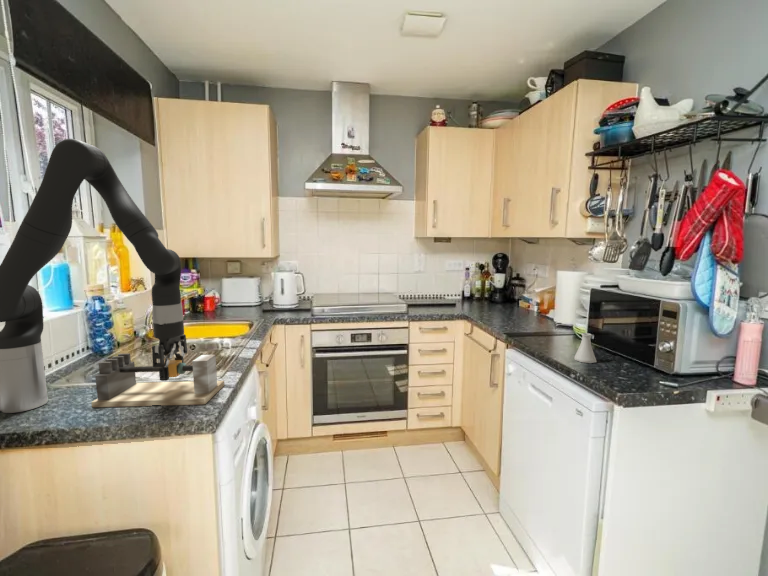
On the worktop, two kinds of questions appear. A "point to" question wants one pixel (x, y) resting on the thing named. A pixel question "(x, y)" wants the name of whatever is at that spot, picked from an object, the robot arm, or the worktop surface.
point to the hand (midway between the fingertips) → (172, 374)
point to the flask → (585, 350)
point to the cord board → (154, 384)
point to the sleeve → (173, 367)
